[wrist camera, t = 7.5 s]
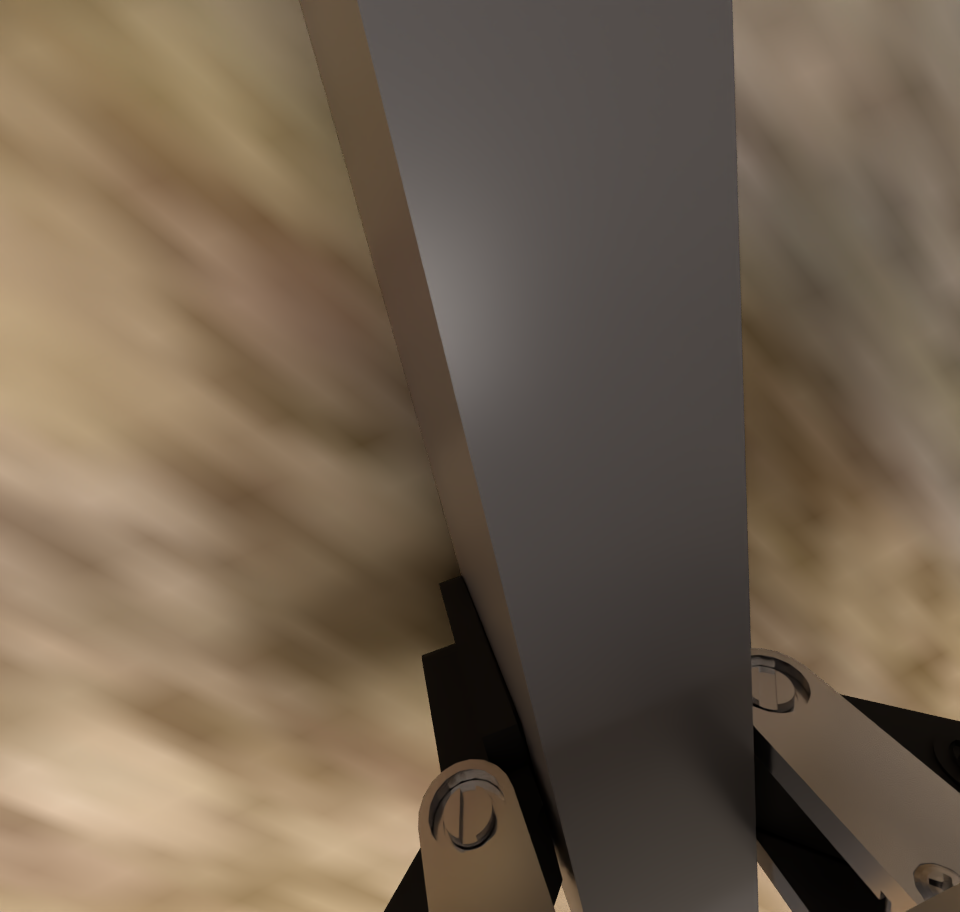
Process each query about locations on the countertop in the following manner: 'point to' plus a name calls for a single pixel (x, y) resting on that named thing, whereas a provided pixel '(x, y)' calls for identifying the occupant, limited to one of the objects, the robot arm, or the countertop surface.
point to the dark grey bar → (578, 394)
